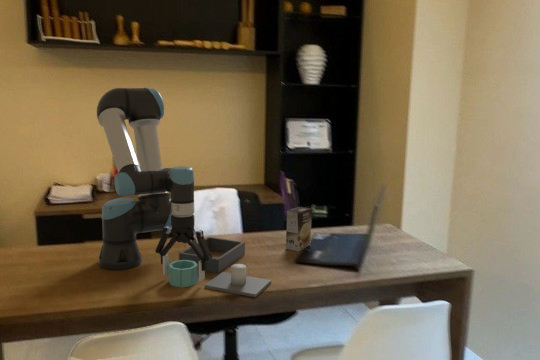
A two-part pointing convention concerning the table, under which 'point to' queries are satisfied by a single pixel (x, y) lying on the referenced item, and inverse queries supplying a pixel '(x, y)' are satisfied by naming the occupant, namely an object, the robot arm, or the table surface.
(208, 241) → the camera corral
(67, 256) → the table surface
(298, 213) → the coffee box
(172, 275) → the collar
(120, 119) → the robot arm
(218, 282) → the stand
